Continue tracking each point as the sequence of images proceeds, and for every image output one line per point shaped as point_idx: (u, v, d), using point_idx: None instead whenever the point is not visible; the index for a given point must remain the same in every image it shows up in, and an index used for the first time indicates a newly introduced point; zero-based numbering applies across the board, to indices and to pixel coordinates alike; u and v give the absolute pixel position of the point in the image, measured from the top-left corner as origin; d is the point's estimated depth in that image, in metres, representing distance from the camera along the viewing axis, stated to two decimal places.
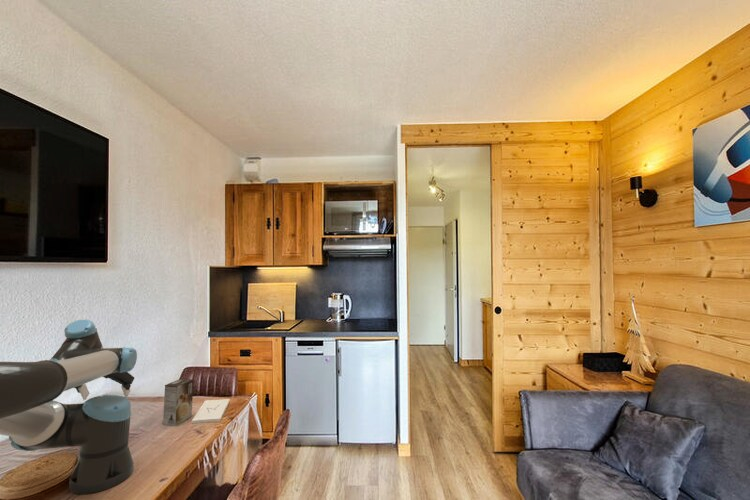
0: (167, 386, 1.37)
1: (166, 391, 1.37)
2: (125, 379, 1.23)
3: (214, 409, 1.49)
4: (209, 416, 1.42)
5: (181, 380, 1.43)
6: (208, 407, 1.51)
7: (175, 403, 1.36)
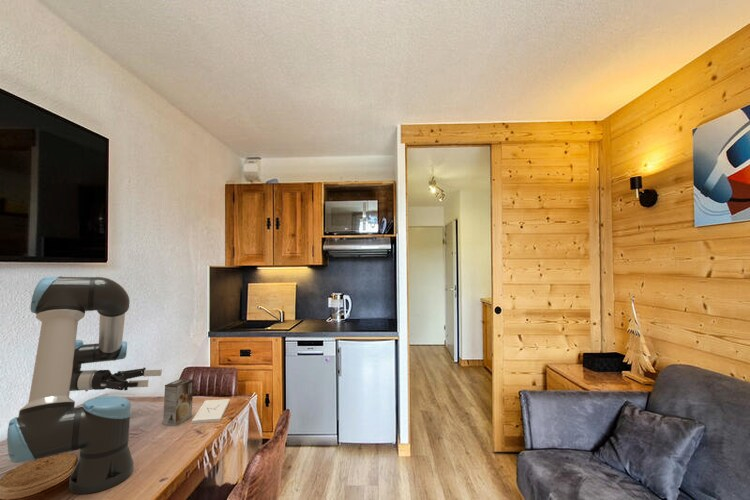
0: (167, 386, 1.37)
1: (166, 391, 1.37)
2: (137, 369, 1.45)
3: (214, 409, 1.49)
4: (209, 416, 1.42)
5: (181, 380, 1.43)
6: (208, 407, 1.51)
7: (175, 403, 1.36)
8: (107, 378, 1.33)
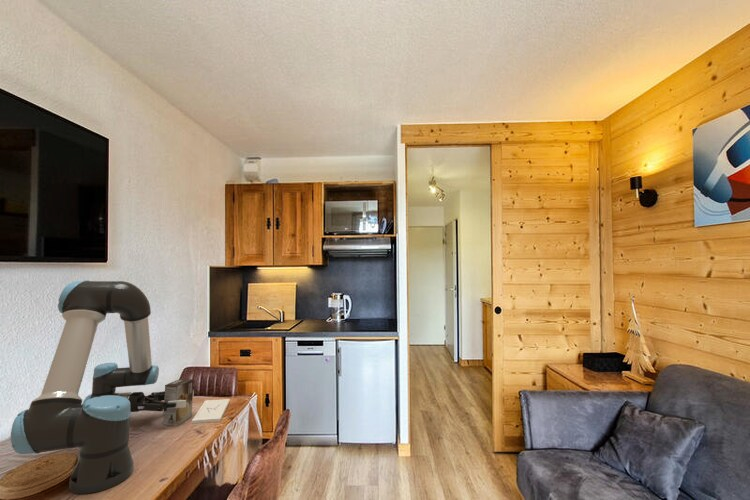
0: (167, 386, 1.37)
1: (166, 391, 1.37)
2: None
3: (214, 409, 1.49)
4: (209, 416, 1.42)
5: (181, 380, 1.43)
6: (208, 407, 1.51)
7: None
8: (141, 400, 1.35)
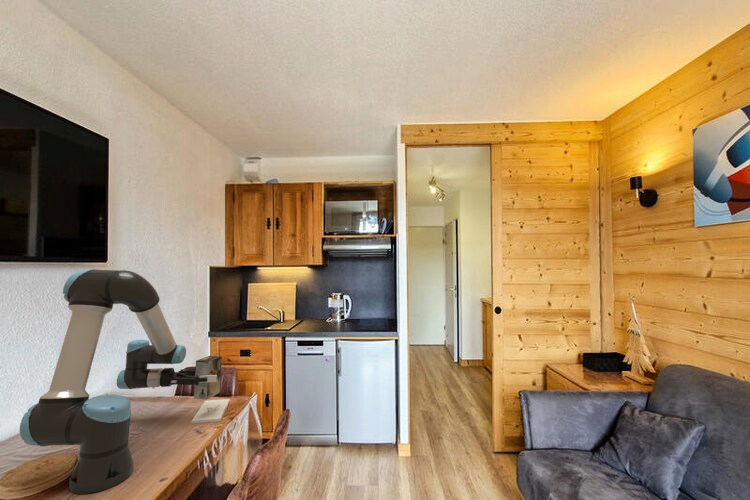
0: (198, 362, 1.42)
1: (197, 366, 1.42)
2: None
3: (214, 409, 1.49)
4: (209, 416, 1.42)
5: (210, 357, 1.48)
6: (208, 407, 1.51)
7: None
8: (173, 375, 1.40)
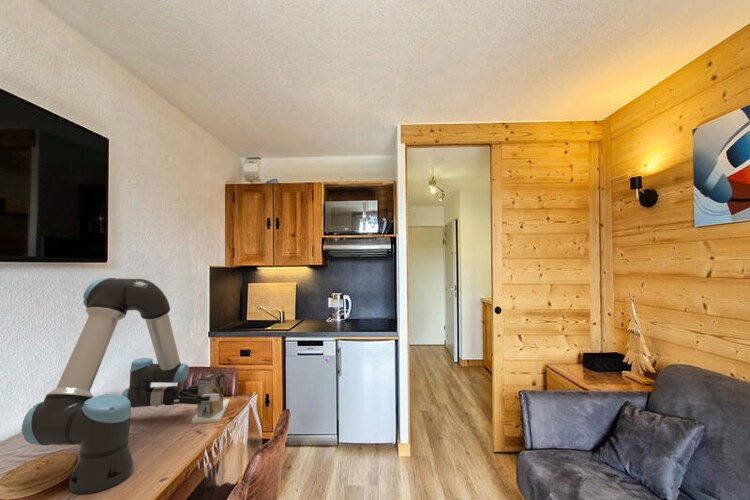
0: (201, 380, 1.42)
1: (200, 384, 1.42)
2: None
3: None
4: None
5: (213, 374, 1.48)
6: None
7: None
8: (176, 394, 1.40)
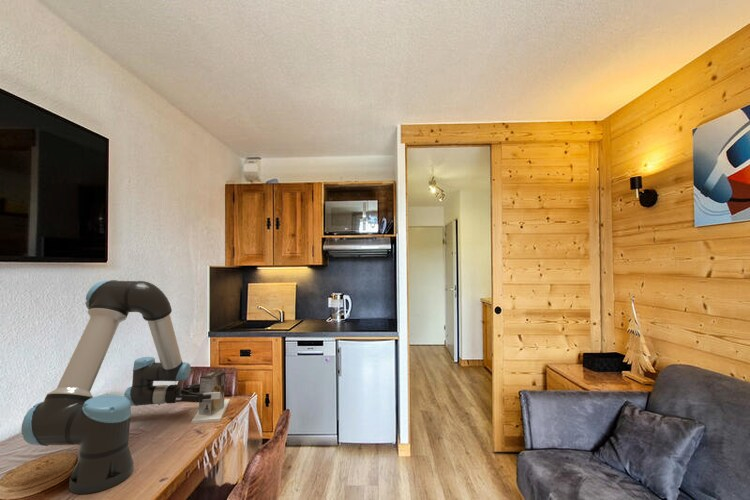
0: (202, 378, 1.45)
1: (201, 382, 1.44)
2: None
3: None
4: (209, 416, 1.42)
5: (214, 372, 1.51)
6: None
7: None
8: (178, 392, 1.43)
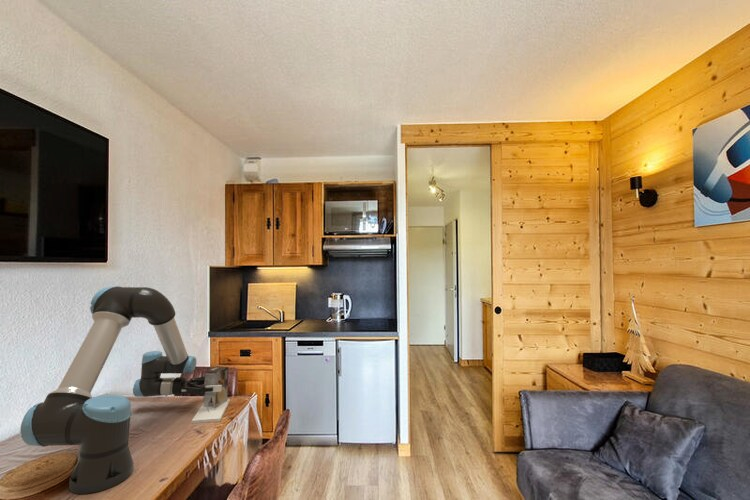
0: (207, 372, 1.52)
1: (206, 377, 1.52)
2: None
3: (214, 409, 1.49)
4: (209, 416, 1.42)
5: (218, 367, 1.58)
6: (208, 407, 1.51)
7: None
8: (184, 384, 1.51)
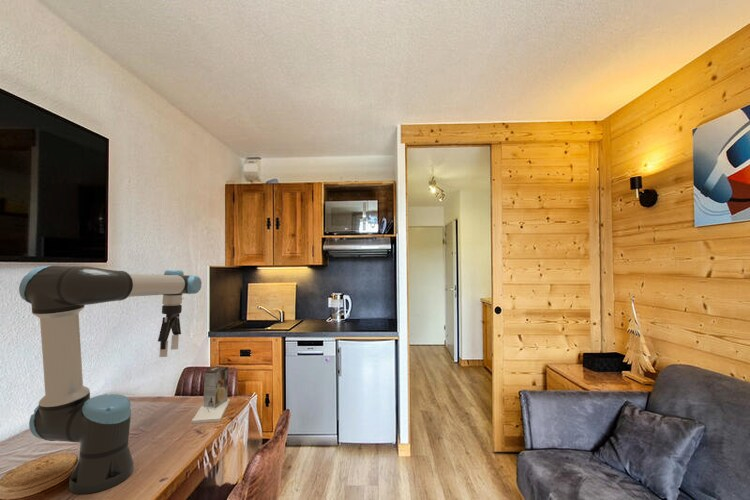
0: (207, 372, 1.52)
1: (206, 377, 1.52)
2: None
3: (214, 409, 1.49)
4: (209, 416, 1.42)
5: (218, 367, 1.58)
6: (208, 407, 1.51)
7: (214, 387, 1.51)
8: None
